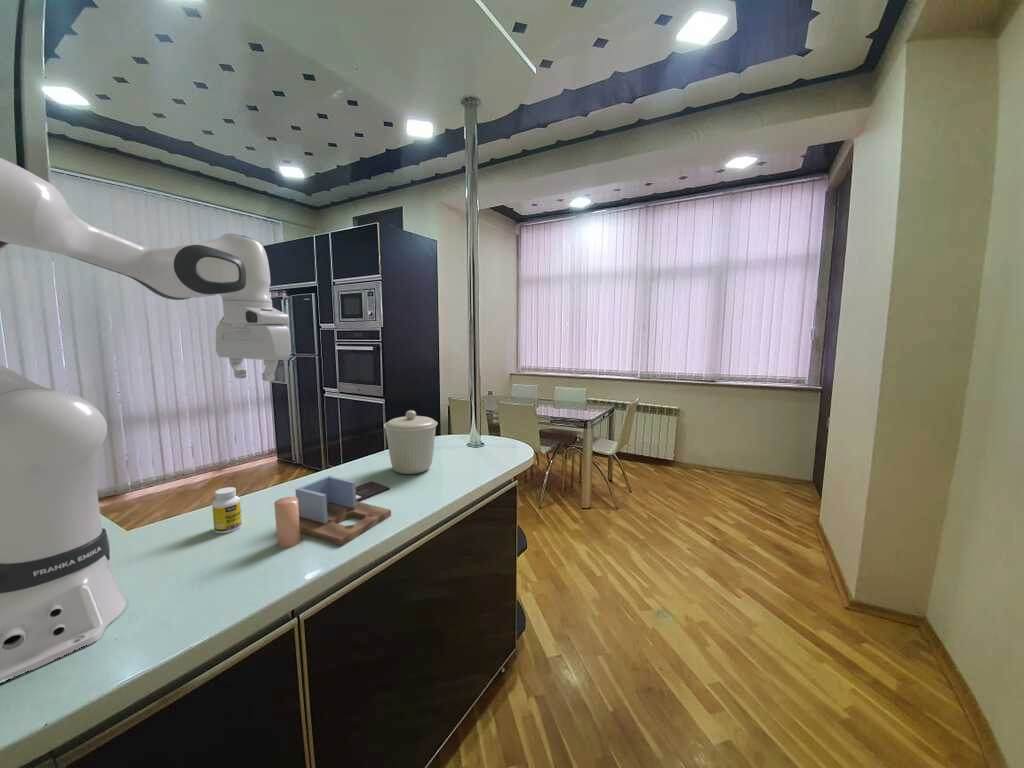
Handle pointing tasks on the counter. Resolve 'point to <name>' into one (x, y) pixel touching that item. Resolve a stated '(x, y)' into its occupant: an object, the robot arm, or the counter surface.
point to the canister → (411, 442)
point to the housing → (325, 497)
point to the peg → (287, 522)
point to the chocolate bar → (369, 490)
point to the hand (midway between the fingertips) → (254, 379)
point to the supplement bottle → (226, 510)
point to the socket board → (339, 513)
